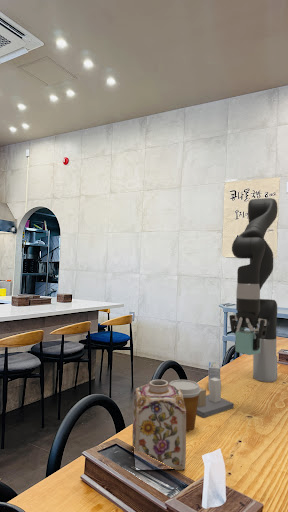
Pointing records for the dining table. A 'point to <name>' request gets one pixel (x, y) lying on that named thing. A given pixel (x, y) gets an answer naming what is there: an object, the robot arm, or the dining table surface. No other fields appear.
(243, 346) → the sage green cube
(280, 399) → the dining table surface
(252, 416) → the dining table surface
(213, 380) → the post stand
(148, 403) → the decorative jar
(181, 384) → the disposable coffee cup
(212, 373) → the medicine box
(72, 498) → the dining table surface
